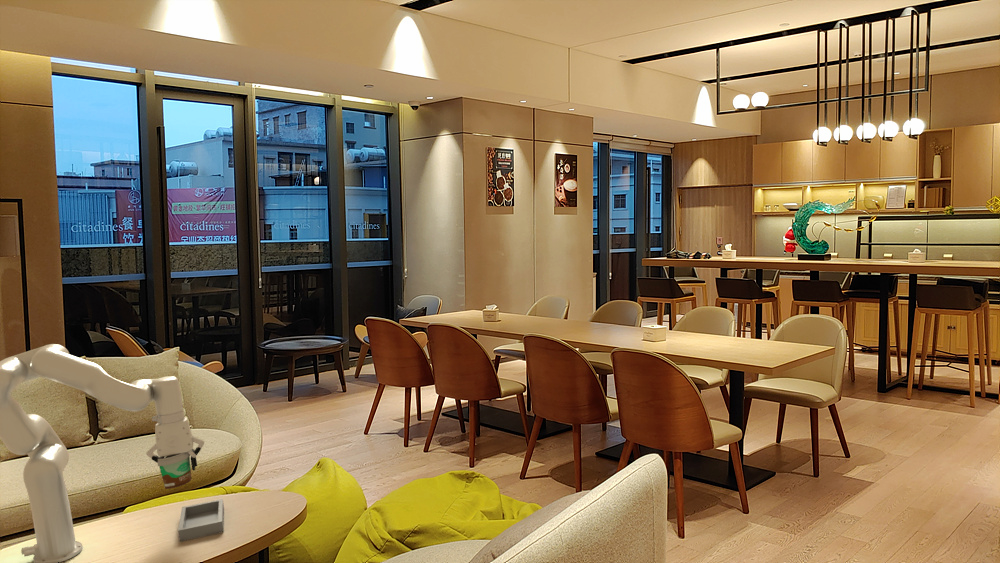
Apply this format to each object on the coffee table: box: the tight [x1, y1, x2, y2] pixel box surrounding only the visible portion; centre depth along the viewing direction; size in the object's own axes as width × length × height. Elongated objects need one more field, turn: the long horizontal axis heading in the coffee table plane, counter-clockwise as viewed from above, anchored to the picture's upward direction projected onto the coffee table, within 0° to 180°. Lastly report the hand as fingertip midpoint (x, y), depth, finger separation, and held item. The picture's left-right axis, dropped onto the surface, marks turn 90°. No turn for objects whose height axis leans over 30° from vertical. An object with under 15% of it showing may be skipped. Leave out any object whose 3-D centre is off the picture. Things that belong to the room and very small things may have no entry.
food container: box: [157, 452, 192, 490], centre depth 227 cm, size 12×6×10 cm, turn 170°
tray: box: [177, 498, 225, 543], centre depth 231 cm, size 12×18×4 cm
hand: (179, 471), depth 227 cm, fingers closed on food container, 7 cm apart
